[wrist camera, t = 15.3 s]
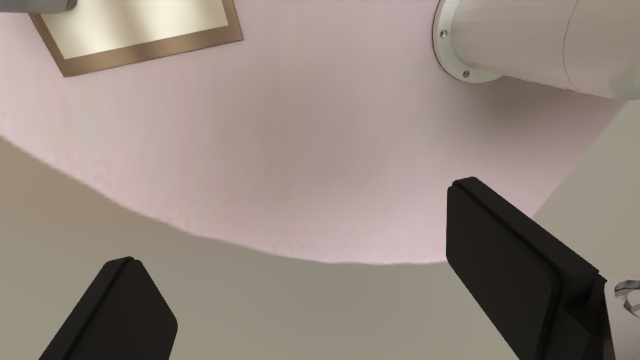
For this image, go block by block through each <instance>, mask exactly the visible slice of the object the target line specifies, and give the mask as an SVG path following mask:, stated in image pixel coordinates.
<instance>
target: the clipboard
mask: <svg viewBox="0 0 640 360" xmlns="http://www.w3.org/2000/svg"><path fill="white" fill-rule="evenodd" d="M28 14H29V16H30V18H31V20H32V22H33V23H34V25H35V27H36V29H37V30H38V32H39V34H40V36H41V38H42V39H43V41H44V43H45V45H46V46H47V48H48V50H49V52H50V53H51V55H52V57H53V59H54V61H55V62H56V64H57V66H58V68H59V69H60V71H61V73H62V75H63V77H68V76H73V75H77V74H82V73H87V72H92V71H96V70H101V69H106V68H110V67H115V66H120V65H125V64H129V63H134V62H139V61H144V60H148V59H153V58H158V57H162V56H167V55H172V54H177V53H181V52H186V51H191V50H195V49H200V48H205V47H210V46H214V45H219V44H224V43H229V42H233V41H238V40H243V35H242V32H241V28H240V25H239V21H238V17H237V14H236V10H235V6H234V3H233V0H77V4H76V6H75V7H74V8H73V9H72V10H68V11H64V10H63V11H62V12H60V13H57V14H42V13H28Z"/></svg>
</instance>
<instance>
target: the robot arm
mask: <svg viewBox="0 0 640 360" xmlns="http://www.w3.org/2000/svg"><path fill="white" fill-rule="evenodd" d="M440 32H441V33H442V34H441V36H440ZM433 43H434V50H435V53H436V55H437V58H438V60H439V62H440V64H441V65H442V67H443V68H444V69H445V70H446V71H447V72H448V74H450V75H451V76H453V77H454V78H456V79H459V80H462V81H464V82H469V83H485V82H490V81H493V80H495V79H498V78H500V77H502V76H508V77H513V78H517V79H521V80H526V81H530V82H535V83H539V84H544V85H548V86H553V87H557V88H562V89H566V90H571V91H575V92H580V93H585V94H590V95H595V96H599V97H604V98H609V99H616V100H635V99H640V0H441V1H440V3H439V6H438V9H437V12H436V15H435V20H434V25H433ZM463 72H464V73H463ZM446 257H447V260H448V262H449V264H450V265H451V267H452V268H453V270H454V271H455V273H456V274H457V275H458V277H459V278H460V279H461V281H462V282H463V283H464V285H465V286H466V288H467V289H468V290H469V292H470V293H471V294H472V296H473V297H474V298H475V300H476V301H477V302H478V304H479V305H480V307H481V308H482V309H483V311H484V312H485V313H486V315H487V316H488V317H489V319H490V320H491V322H492V323H493V324H494V326H495V327H496V328H497V330H498V331H499V332H500V333H501V335H502V336H503V338H504V339H505V341H506V342H507V343H508V345H509V346H510V347H511V349H512V350H513V351H514V353H515V354H516V356H517V357H518V358H519V360H640V276H639V275H618V276H615V277H613V278H610V279H609V280H608V281H607V280H606V279H605V278H603V277H602V276H601V275H600V274H598V273H599V270H598V269H596V268H595V267H593V266H592V265H591V264H590V263H588V262H587V261H586V260H584V259H583V258H582V257H580V256H579V255H578V254H576V253H575V252H574V251H573V250H571V249H570V248H569V247H567V246H566V245H565V244H563V243H562V242H561V241H559V240H558V239H557V238H555V237H554V236H553V235H551V234H550V233H549V232H547V231H546V230H545V229H544V228H542V227H541V226H540V225H538V224H537V223H536V222H534V221H533V220H532V219H530V218H529V217H528V216H526V215H525V214H524V213H522V212H521V211H520V210H518V209H517V208H516V207H514V206H513V205H512V204H510V203H509V202H508V201H507V200H505V199H504V198H503V197H501V196H500V195H499V194H497V193H496V192H495V191H493V190H492V189H491V188H489V187H488V186H487V185H485V184H484V183H483V182H481V181H480V180H479V179H477V178H476V177H468V178H464V179H459V180H455V181H454V182H453V183H452V186H450V187H449V188H448V190H447V228H446ZM177 328H178V325H177V320H176V318H175V316H174V314H173V313H172V311H171V310H170V308H169V306H168V305H167V303H166V302H165V300H164V298H163V297H162V295H161V293H160V292H159V290H158V288H157V287H156V285H155V284H154V282H153V280H152V279H151V277H150V276H149V274H148V272H147V271H146V269H145V267H144V266H143V264H142V263H141V261H139V260H135V259H134V258H133V257H129V256H128V257H124V258H120V259H116V260H111V261H108V262H106V263H105V265H104V266H103V267H102V269H101V270H100V272H99V273H98V275H97V276H96V277H95V279H94V281H93V282H92V283H91V285H90V286H89V288H88V289H87V290H86V292H85V293H84V295H83V296H82V298H81V299H80V301H79V302H78V303H77V305H76V306H75V308H74V309H73V311H72V312H71V313H70V315H69V316H68V318H67V320H66V321H65V322H64V324H63V325H62V326H61V328H60V329H59V331H58V332H57V334H56V335H55V337H54V338H53V340H52V341H51V342H50V344H49V345H48V347H47V348H46V350H45V351H44V353H43V354H42V355H41V357H40V358H39V360H169V357H170V353H171V350H172V347H173V343H174V340H175V337H176V333H177Z"/></svg>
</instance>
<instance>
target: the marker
mask: <svg viewBox="0 0 640 360" xmlns="http://www.w3.org/2000/svg"><path fill="white" fill-rule="evenodd" d="M76 4H77V0H0V12H10V13H42V14H57V13H60V12H62V11H63V10H64V11H68V10H72V9H73V8H74V7H75V6H76Z"/></svg>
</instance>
